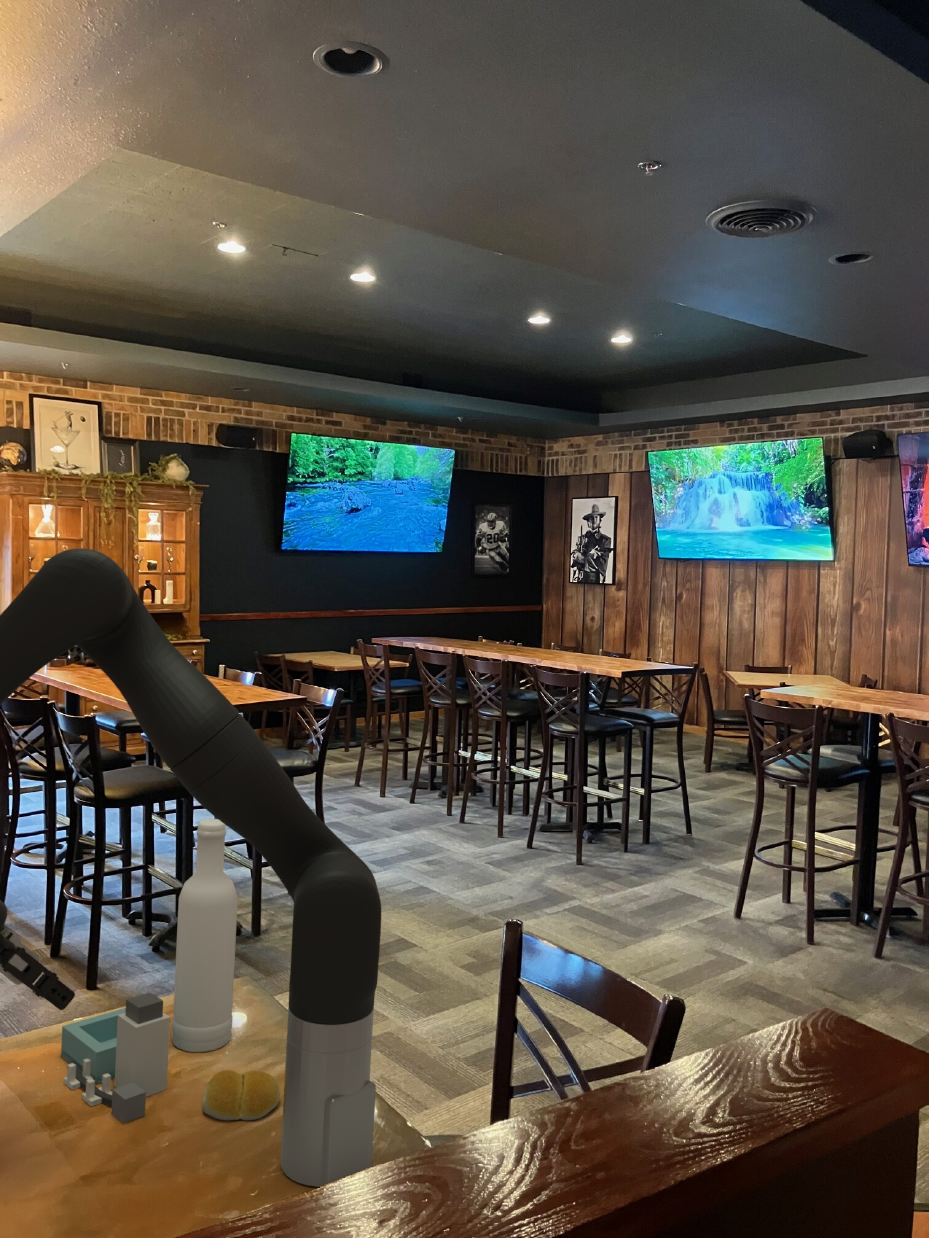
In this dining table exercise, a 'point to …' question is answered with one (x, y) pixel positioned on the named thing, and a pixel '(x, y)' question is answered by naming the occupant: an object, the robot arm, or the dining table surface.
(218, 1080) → the bread roll
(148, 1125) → the dining table surface
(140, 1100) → the cable run
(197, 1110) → the dining table surface
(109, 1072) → the end socket
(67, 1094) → the dining table surface
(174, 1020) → the bottle
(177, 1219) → the dining table surface
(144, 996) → the block
